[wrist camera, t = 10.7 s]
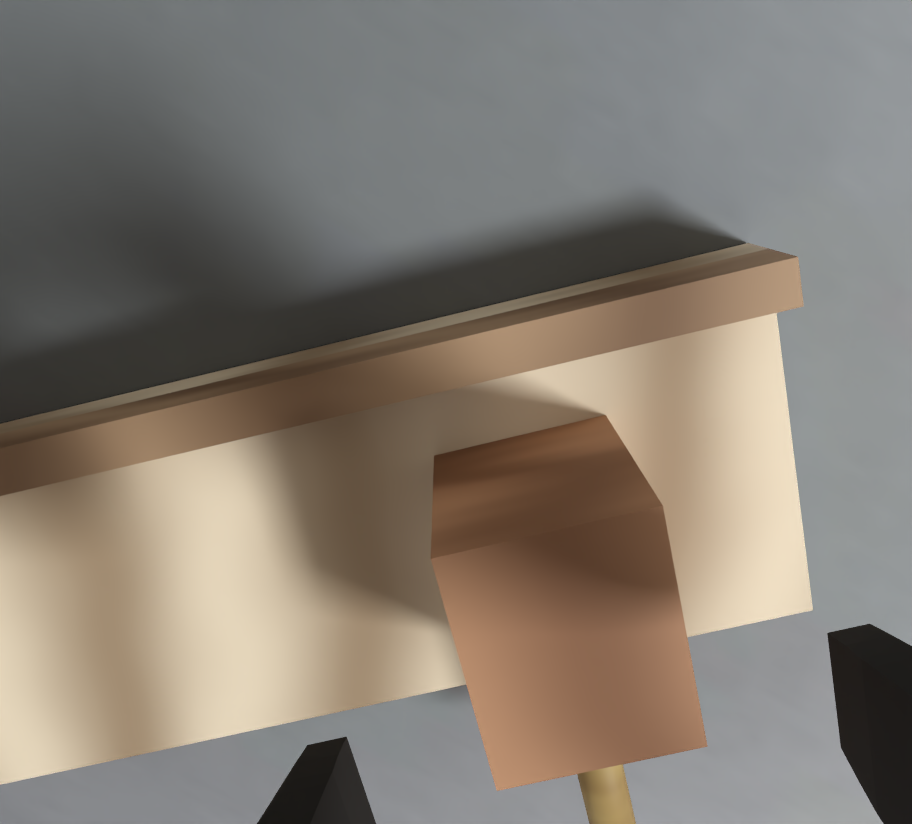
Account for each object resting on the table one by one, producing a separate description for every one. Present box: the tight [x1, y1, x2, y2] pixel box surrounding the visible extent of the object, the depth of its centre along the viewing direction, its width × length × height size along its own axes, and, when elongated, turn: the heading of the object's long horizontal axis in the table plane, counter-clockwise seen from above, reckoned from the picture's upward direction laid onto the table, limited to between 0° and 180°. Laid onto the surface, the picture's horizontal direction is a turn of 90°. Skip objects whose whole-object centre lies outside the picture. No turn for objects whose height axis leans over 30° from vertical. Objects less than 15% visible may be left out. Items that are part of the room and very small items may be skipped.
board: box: [0, 243, 813, 784], centre depth 19 cm, size 22×9×3 cm, turn 104°
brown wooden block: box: [431, 415, 707, 824], centre depth 17 cm, size 4×9×5 cm, turn 14°
